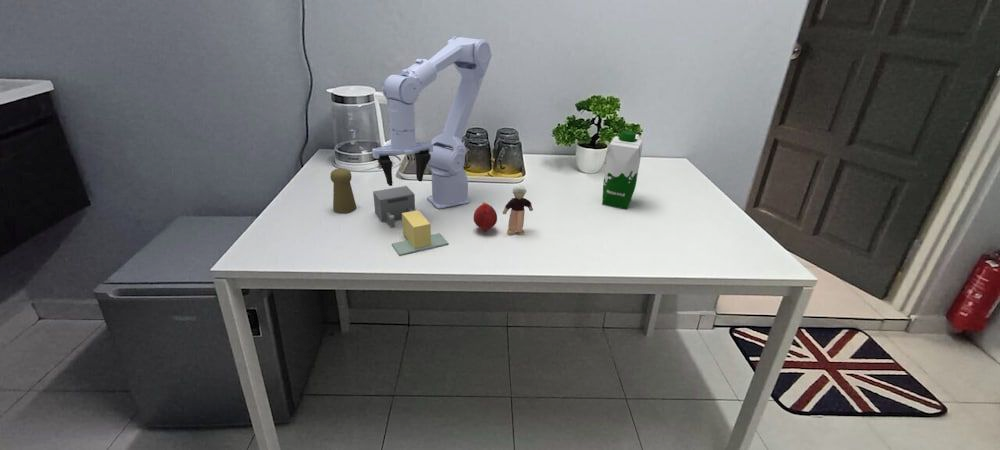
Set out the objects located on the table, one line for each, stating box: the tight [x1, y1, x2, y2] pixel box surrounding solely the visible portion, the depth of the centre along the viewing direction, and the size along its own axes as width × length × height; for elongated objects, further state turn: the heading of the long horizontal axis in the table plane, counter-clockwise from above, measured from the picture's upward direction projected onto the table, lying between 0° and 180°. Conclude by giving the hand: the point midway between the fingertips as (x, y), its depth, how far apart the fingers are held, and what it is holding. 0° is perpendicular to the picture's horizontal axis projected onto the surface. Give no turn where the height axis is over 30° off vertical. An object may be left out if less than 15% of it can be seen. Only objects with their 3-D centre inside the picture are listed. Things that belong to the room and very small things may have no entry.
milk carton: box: [601, 130, 643, 210], centre depth 135 cm, size 9×9×20 cm
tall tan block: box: [401, 209, 432, 248], centre depth 115 cm, size 4×8×6 cm, turn 29°
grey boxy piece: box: [372, 185, 416, 228], centre depth 126 cm, size 9×10×6 cm
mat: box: [391, 232, 450, 257], centre depth 115 cm, size 12×6×1 cm, turn 119°
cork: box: [330, 167, 358, 215], centre depth 128 cm, size 6×6×11 cm
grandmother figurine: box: [502, 184, 534, 236], centre depth 119 cm, size 8×4×13 cm, turn 118°
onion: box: [473, 200, 498, 232], centre depth 120 cm, size 6×6×8 cm
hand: (404, 182), depth 121 cm, fingers open, 7 cm apart
